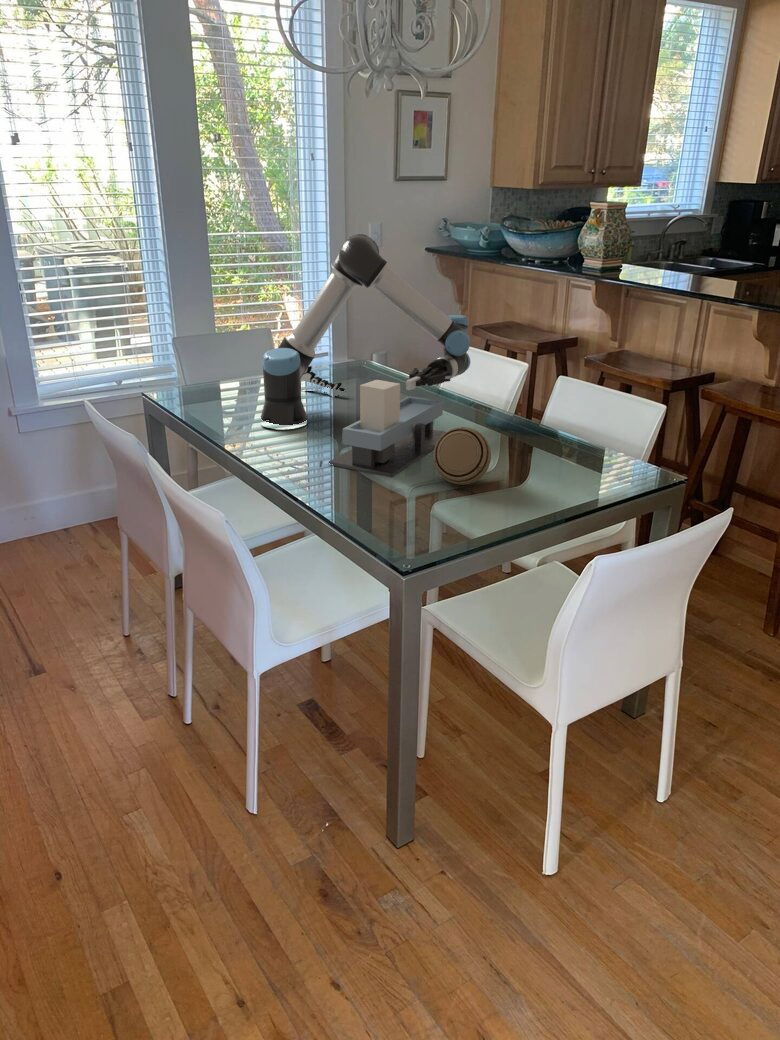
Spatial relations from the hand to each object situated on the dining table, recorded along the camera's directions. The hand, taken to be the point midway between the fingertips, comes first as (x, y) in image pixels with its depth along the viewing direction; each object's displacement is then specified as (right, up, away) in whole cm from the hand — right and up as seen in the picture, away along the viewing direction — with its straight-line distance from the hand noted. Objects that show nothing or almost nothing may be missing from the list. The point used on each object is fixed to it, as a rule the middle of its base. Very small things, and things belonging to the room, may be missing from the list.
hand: (408, 385), depth 233 cm
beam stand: (-4, -19, +1) cm, 19 cm away
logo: (-31, +7, +59) cm, 67 cm away
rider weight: (-8, -13, -10) cm, 19 cm away
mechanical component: (+13, -30, -24) cm, 41 cm away
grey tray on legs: (-4, -18, 0) cm, 18 cm away
